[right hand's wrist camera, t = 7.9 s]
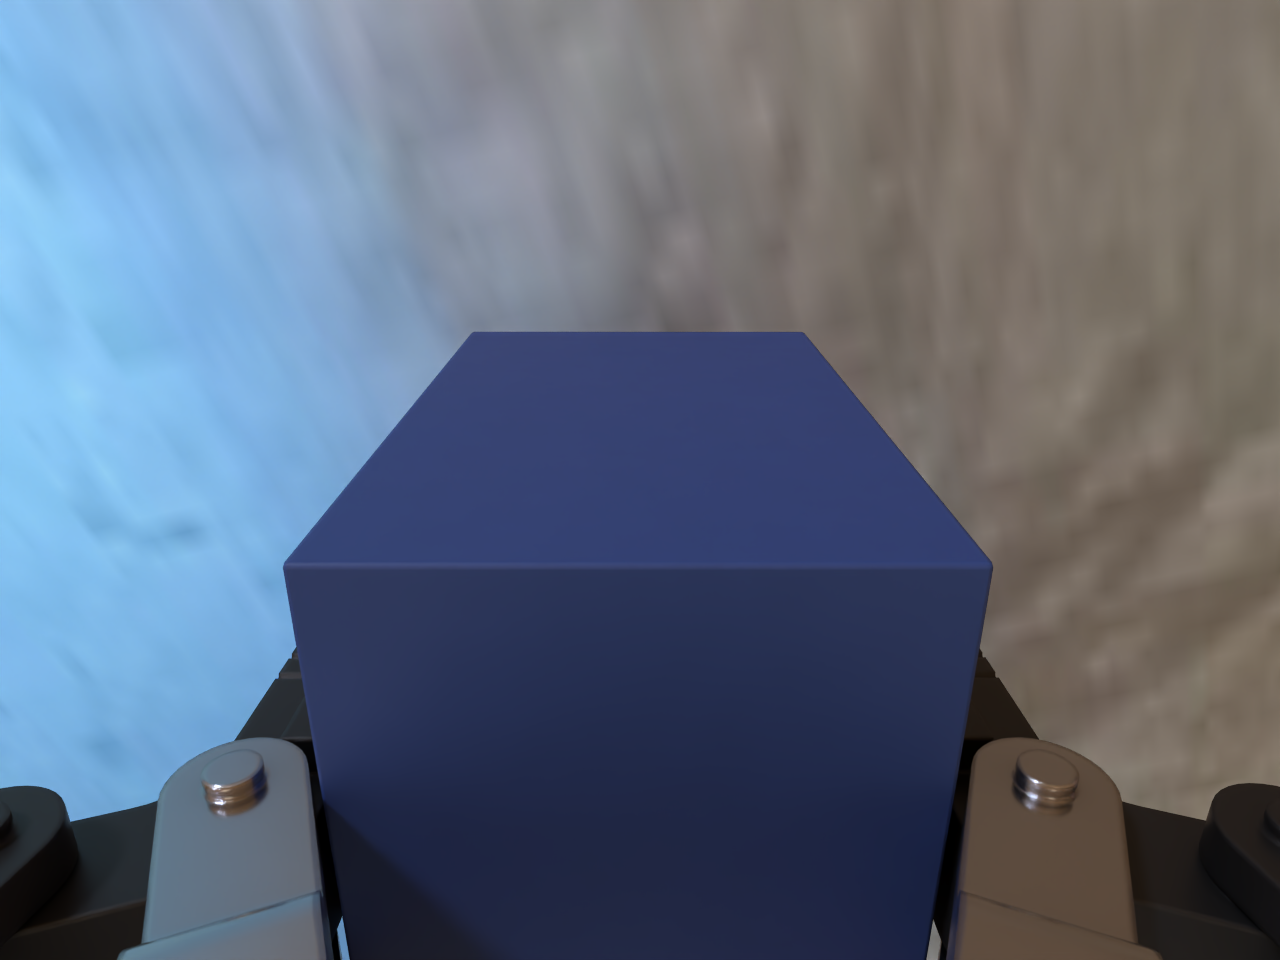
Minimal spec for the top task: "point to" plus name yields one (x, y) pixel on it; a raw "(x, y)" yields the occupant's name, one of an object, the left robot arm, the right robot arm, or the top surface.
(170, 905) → the right robot arm
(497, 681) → the bar
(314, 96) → the top surface
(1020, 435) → the top surface
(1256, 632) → the top surface
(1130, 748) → the top surface
